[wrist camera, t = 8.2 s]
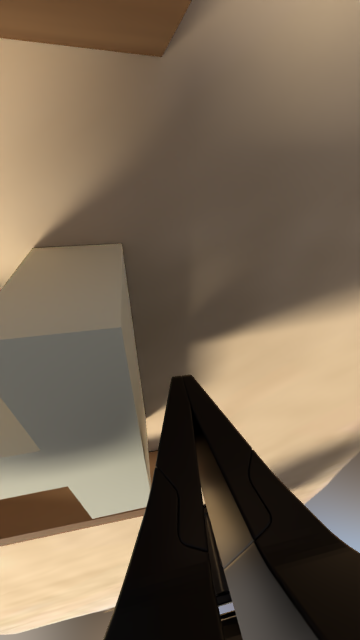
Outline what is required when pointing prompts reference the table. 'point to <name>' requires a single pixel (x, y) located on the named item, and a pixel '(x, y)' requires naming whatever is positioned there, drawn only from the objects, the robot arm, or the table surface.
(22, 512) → the corral
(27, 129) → the table surface
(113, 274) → the t block
